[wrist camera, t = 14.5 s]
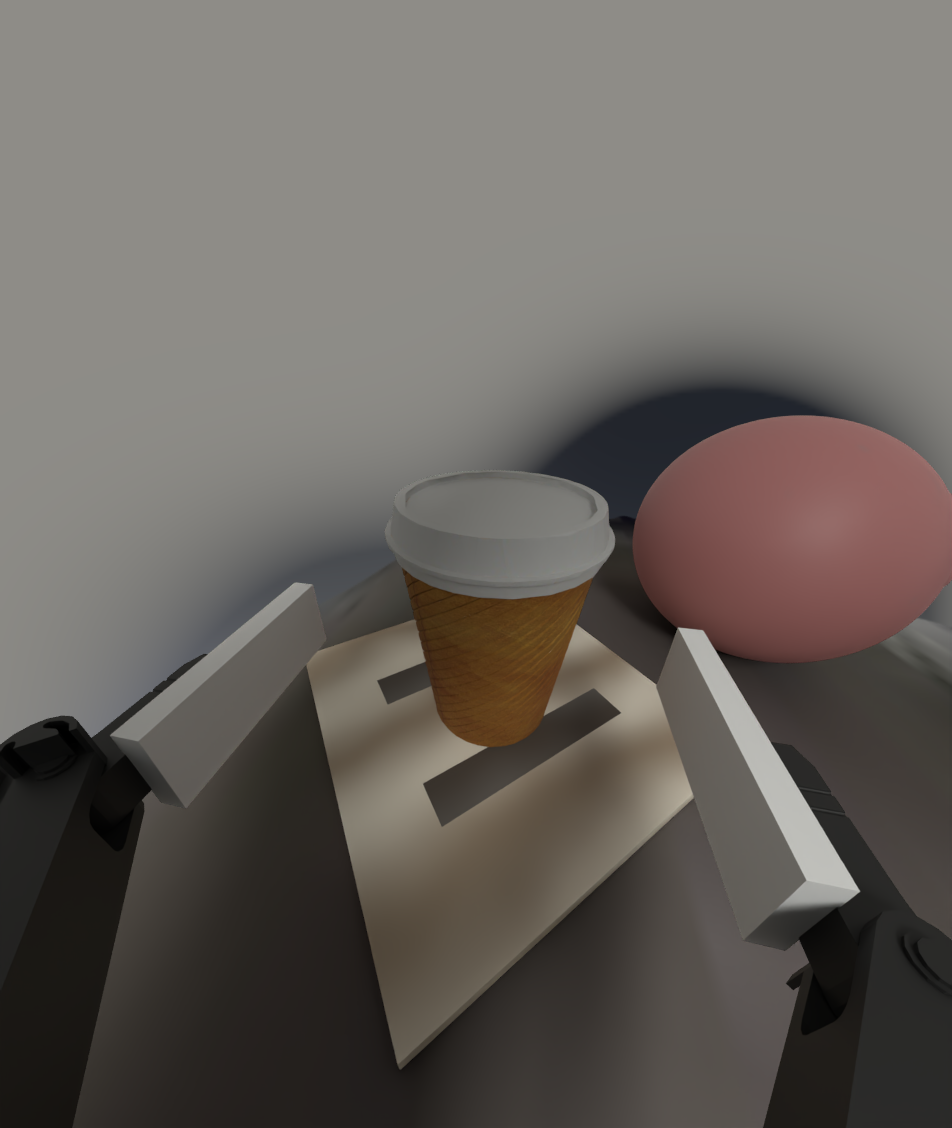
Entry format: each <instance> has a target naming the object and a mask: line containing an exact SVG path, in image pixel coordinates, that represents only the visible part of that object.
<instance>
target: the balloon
mask: <svg viewBox="0 0 952 1128" xmlns="http://www.w3.org/2000/svg"><path fill="white" fill-rule="evenodd" d="M633 557H634V563H635V567H636V571H637V574H638V577H639V580H640V582H641V584H642V587H643V588H644V590H645V592H646V594H647V596H648V597H649V599H650V600H651V602H652V603H653V604H654V606H655V607H656V608H657V609H658V611H659V612H660V613H661V614H662V615H663V616H664V617H665V618H666V619H667V620H668V621H669V622H670V623H672V624H673V625H674V626H675V627H676V628H678V627H679V628H688V629H696V630H703V631H704V632H705V634H706V636H707V637H708V639H709V641H710V642H711V644H712V646H713V647H714V649H715V650H718V651H721V652H723V653H726V654H730V655H733V656H737V657H741V658H745V659H750V660H756V661H762V662H772V663H805V662H815V661H822V660H828V659H833V658H838V657H842V656H845V655H849V654H852V653H855V652H858V651H861V650H864V649H866V648H869V647H871V646H873V645H876V644H878V643H880V642H882V641H884V640H886V639H888V638H889V637H891V636H893V635H895V634H896V633H898V632H899V631H901V630H902V629H904V628H905V627H906V626H908V625H909V624H910V623H912V622H913V621H914V620H915V619H916V618H917V617H919V616H920V615H921V614H922V613H923V612H924V611H925V610H926V609H927V608H928V607H929V606H930V604H931V603H932V602H933V601H934V599H935V598H936V597H937V596H938V594H939V593H940V592H941V590H942V588H943V587H944V586H946V585H948V584H949V583H950V581H952V494H951V493H949V491H948V489H947V487H946V486H945V484H944V482H943V481H942V479H941V478H940V476H939V475H938V474H937V473H936V472H935V470H934V469H933V468H932V467H931V466H930V464H929V463H928V462H927V461H926V460H925V459H924V458H923V457H921V456H920V455H919V454H918V453H917V452H915V451H914V450H913V449H911V448H910V447H909V446H907V445H906V444H904V443H903V442H901V441H899V440H898V439H896V438H894V437H892V436H890V435H888V434H886V433H884V432H882V431H879V430H877V429H874V428H872V427H869V426H866V425H863V424H859V423H856V422H852V421H847V420H843V419H837V418H831V417H822V416H784V417H775V418H769V419H762V420H758V421H753V422H749V423H745V424H742V425H738V426H736V427H732V428H730V429H727V430H725V431H722V432H720V433H718V434H715V435H713V436H711V437H709V438H707V439H705V440H704V441H702V442H700V443H698V444H697V445H695V446H693V447H692V448H690V449H689V450H688V451H686V452H685V453H684V454H682V455H681V456H680V457H678V458H677V459H676V460H675V461H674V462H672V463H671V464H670V465H669V466H668V467H667V468H666V469H665V470H664V472H663V473H662V474H661V475H660V476H659V478H657V480H656V481H655V482H654V484H653V485H652V486H651V488H650V490H649V491H648V493H647V495H646V496H645V498H644V500H643V502H642V505H641V507H640V509H639V512H638V515H637V518H636V522H635V527H634V533H633Z"/></svg>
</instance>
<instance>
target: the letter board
mask: <svg viewBox="0 0 952 1128" xmlns="http://www.w3.org/2000/svg"><path fill="white" fill-rule="evenodd" d="M418 633H419V631H418V630H417V626H416V621H415V619H414V620H411V621H408V622H405V623H402V624H399V625H396V626H393V627H390V628H387V629H384V630H381V631H377V632H374V633H371V634H368V635H365V636H362V637H359V638H356V639H353V640H350V641H347V642H344V643H341V644H338V645H335V646H332V647H329V648H326V649H322V650H319V651H317V652H316V653H315V655H314V656H313V657H312V658H311V659H310V661H309V662H308V663H307V664H306V666H307V670H308V674H309V679H310V683H311V688H312V692H313V696H314V701H315V705H316V709H317V714H318V718H319V723H320V727H321V731H322V736H323V740H324V745H325V749H326V753H327V758H328V762H329V767H330V771H331V775H332V780H333V784H334V788H335V793H336V797H337V802H338V806H339V810H340V815H341V819H342V824H343V828H344V832H345V837H346V841H347V845H348V850H349V854H350V859H351V863H352V867H353V872H354V876H355V881H356V885H357V889H358V894H359V898H360V903H361V907H362V911H363V916H364V920H365V924H366V929H367V933H368V938H369V942H370V946H371V951H372V955H373V960H374V964H375V968H376V973H377V977H378V982H379V986H380V990H381V995H382V999H383V1003H384V1008H385V1012H386V1017H387V1021H388V1025H389V1030H390V1034H391V1039H392V1043H393V1047H394V1052H395V1056H396V1061H397V1065H398V1067H399V1069H400V1070H401V1069H402V1068H403V1067H404V1066H405V1065H406V1064H407V1063H408V1062H410V1061H411V1060H412V1059H413V1058H414V1057H415V1056H416V1055H417V1054H418V1053H419V1052H420V1051H421V1050H422V1049H424V1048H425V1047H426V1046H427V1045H428V1044H429V1043H430V1042H431V1041H432V1040H433V1039H434V1038H435V1037H436V1036H438V1035H439V1034H440V1033H441V1032H442V1031H443V1030H444V1029H445V1028H446V1027H447V1026H448V1025H449V1024H451V1023H452V1022H453V1021H454V1020H455V1019H456V1018H457V1017H458V1016H459V1015H460V1014H461V1013H462V1012H463V1011H465V1010H466V1009H467V1008H468V1007H469V1006H470V1005H471V1004H472V1003H473V1002H474V1001H475V1000H476V999H477V998H479V997H480V996H481V995H482V994H483V993H484V992H485V991H486V990H487V989H488V988H489V987H490V986H491V985H493V984H494V983H495V982H496V981H497V980H498V979H499V978H500V977H501V976H502V975H503V974H504V973H505V972H507V971H508V970H509V969H510V968H511V967H512V966H513V965H514V964H515V963H516V962H517V961H518V960H520V959H521V958H522V957H523V956H524V955H525V954H526V953H527V952H528V951H529V950H530V949H531V948H532V947H534V946H535V945H536V944H537V943H538V942H539V941H540V940H541V939H542V938H543V937H544V936H545V935H546V934H548V933H549V932H550V931H551V930H552V929H553V928H554V927H555V926H556V925H557V924H558V923H559V922H560V921H562V920H563V919H564V918H565V917H566V916H567V915H568V914H569V913H570V912H571V911H572V910H573V909H575V908H576V907H577V906H578V905H579V904H580V903H581V902H582V901H583V900H584V899H585V898H586V897H587V896H589V895H590V894H591V893H592V892H593V891H594V890H595V889H596V888H597V887H598V886H599V885H600V884H601V883H603V882H604V881H605V880H606V879H607V878H608V877H609V876H610V875H611V874H612V873H613V872H614V871H615V870H617V869H618V868H619V867H620V866H621V865H622V864H623V863H624V862H625V861H626V860H627V859H628V858H629V857H631V856H632V855H633V854H634V853H635V852H636V851H637V850H638V849H639V848H640V847H641V846H642V845H644V844H645V843H646V842H647V841H648V840H649V839H650V838H651V837H652V836H653V835H654V834H655V833H656V832H658V831H659V830H660V829H661V828H662V827H663V826H664V825H665V824H666V823H667V822H668V821H669V820H670V819H672V818H673V817H674V816H675V815H676V814H677V813H678V812H679V811H680V810H681V809H682V808H683V807H684V806H686V805H687V804H688V803H689V802H690V801H691V800H692V799H693V798H694V796H693V793H692V790H691V787H690V784H689V782H688V779H687V776H686V773H685V770H684V767H683V764H682V761H681V758H680V755H679V752H678V749H677V746H676V744H675V741H674V738H673V735H672V732H671V729H670V726H669V723H668V720H667V717H666V714H665V711H664V708H663V706H662V703H661V700H660V697H659V694H658V691H657V688H656V686H657V685H656V684H655V683H653V682H652V681H651V680H649V679H648V678H647V677H645V676H644V675H643V674H641V673H640V672H639V671H637V670H636V669H635V668H633V667H632V666H631V665H630V664H628V663H627V662H626V661H624V660H623V659H622V658H620V657H619V656H618V655H616V654H615V653H614V652H612V651H611V650H610V649H608V648H607V647H606V646H604V645H603V644H602V643H601V642H599V641H598V640H597V639H595V638H594V637H593V636H591V635H590V634H589V633H587V632H586V631H585V630H583V629H582V628H581V627H579V626H578V625H577V624H576V626H575V629H574V632H573V635H572V638H571V641H570V643H569V646H568V649H567V652H566V654H565V657H564V660H563V663H562V666H561V669H560V671H559V674H558V677H557V679H556V682H555V685H554V688H553V691H552V693H551V696H550V699H549V702H548V704H547V707H546V710H545V713H544V717H543V719H542V721H541V723H540V725H539V726H538V727H537V728H536V730H535V731H534V732H532V733H531V734H530V735H529V736H528V737H526V738H525V739H523V740H521V741H519V742H517V743H515V744H511V745H507V746H499V747H485V746H478V745H475V744H472V743H469V742H466V741H464V740H463V739H461V738H459V737H457V736H456V735H454V734H453V733H452V732H451V731H450V730H449V729H448V728H447V727H446V726H445V724H444V723H443V722H442V721H441V718H440V716H439V714H438V712H437V707H436V702H435V699H434V695H433V690H432V685H431V682H430V677H429V674H428V670H427V669H428V668H427V666H426V663H425V658H424V654H423V651H424V650H422V646H421V641H420V638H419V634H418Z"/></svg>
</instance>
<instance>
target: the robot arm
mask: <svg viewBox="0 0 952 1128" xmlns="http://www.w3.org/2000/svg"><path fill="white" fill-rule="evenodd" d="M326 640H327V639H326V635H325V631H324V627H323V623H322V619H321V615H320V611H319V607H318V603H317V599H316V595H315V591H314V587H313V585H310V584H303V583H294V584H293V585H291V586H290V587H289V588H288V589H287V590H285V591H284V592H283V593H282V594H281V595H279V596H278V597H277V598H276V599H274V600H273V601H272V602H271V603H270V604H268V605H267V606H266V607H265V608H264V609H262V610H261V611H260V612H259V613H258V614H256V615H255V616H254V617H253V618H251V619H250V620H249V621H248V622H247V623H245V624H244V625H243V626H242V627H240V628H239V629H238V630H237V631H236V632H234V633H233V634H232V635H231V636H230V637H229V638H227V639H226V640H225V641H223V642H222V643H221V644H220V645H219V646H217V647H216V648H215V649H214V650H213V651H211V652H210V653H209V654H203V655H201V656H199V657H197V658H195V659H193V660H192V661H190V662H188V663H186V664H184V665H183V666H182V667H180V668H179V669H178V670H177V671H175V672H174V673H173V674H171V675H170V676H169V677H168V678H167V680H166V681H163V682H161V683H160V684H159V685H158V686H156V687H155V688H154V689H153V692H149V693H148V694H147V695H145V696H144V697H143V698H141V699H140V700H139V701H138V702H136V703H135V704H134V705H133V706H131V708H129V709H128V710H126V711H125V712H124V713H123V714H121V715H120V716H119V717H118V718H116V719H115V720H114V721H113V722H111V723H110V724H109V725H108V726H107V727H105V728H104V729H103V730H101V731H100V732H99V733H98V734H96V735H95V736H94V737H92V738H91V737H90V736H89V735H88V733H87V732H86V731H85V730H84V728H83V727H82V726H81V725H80V724H79V722H78V721H77V720H76V719H74V717H72V716H59V717H53V718H49V719H46V720H43V721H40V722H38V723H35V724H33V725H30V726H29V727H27V728H25V729H23V730H21V731H19V732H18V733H16V734H14V735H13V736H11V737H10V738H9V739H7V740H6V741H5V742H3V743H2V744H0V1128H72V1126H73V1121H74V1117H75V1112H76V1108H77V1104H78V1099H79V1095H80V1091H81V1086H82V1082H83V1077H84V1073H85V1069H86V1064H87V1060H88V1055H89V1051H90V1047H91V1042H92V1038H93V1034H94V1029H95V1025H96V1020H97V1016H98V1012H99V1007H100V1003H101V999H102V994H103V990H104V985H105V981H106V977H107V972H108V968H109V963H110V959H111V955H112V950H113V946H114V942H115V937H116V933H117V928H118V924H119V920H120V915H121V911H122V907H123V902H124V898H125V893H126V889H127V885H128V880H129V876H130V872H131V867H132V863H133V858H134V854H135V850H136V845H137V841H138V836H139V832H140V828H141V823H142V819H143V815H144V803H143V801H142V799H143V798H144V797H145V796H146V795H147V794H148V793H149V792H150V791H151V790H152V791H153V793H154V794H155V795H156V797H157V798H158V799H159V801H160V802H161V803H164V804H169V805H173V806H177V807H181V808H185V809H186V808H187V807H188V806H189V805H190V804H191V802H192V801H193V800H194V799H195V798H196V796H197V795H198V794H199V793H200V792H201V790H202V789H203V788H204V787H205V786H206V784H207V783H208V782H209V781H210V780H211V778H212V777H213V776H214V775H215V774H216V772H217V771H218V770H219V769H220V768H221V766H222V765H223V764H224V763H225V762H226V760H227V759H228V758H229V757H230V756H231V754H232V753H233V752H234V751H235V750H236V748H237V747H238V746H239V745H240V744H241V742H242V741H243V740H244V739H245V738H246V736H247V735H248V734H249V733H250V731H251V730H252V729H253V728H254V727H255V725H256V724H257V723H258V722H259V721H260V719H261V718H262V717H263V716H264V715H265V713H266V712H267V711H268V710H269V709H270V707H271V706H272V705H273V704H274V703H275V701H276V700H277V699H278V698H279V697H280V695H281V694H282V693H283V692H284V691H285V689H286V688H287V687H288V686H289V685H290V683H291V682H292V681H293V680H294V679H295V677H296V676H297V675H298V674H299V673H300V671H301V670H302V669H303V668H304V667H305V665H306V664H307V663H308V662H309V661H310V659H311V658H312V657H313V656H314V655H315V653H316V652H317V651H318V650H319V649H320V647H321V646H322V645H323V644H324V643H325V641H326ZM656 688H657V691H658V694H659V697H660V700H661V703H662V706H663V708H664V711H665V714H666V717H667V720H668V723H669V726H670V729H671V732H672V735H673V738H674V741H675V744H676V746H677V749H678V752H679V755H680V758H681V761H682V764H683V767H684V770H685V773H686V776H687V779H688V782H689V784H690V787H691V790H692V793H693V796H694V799H695V802H696V805H697V808H698V811H699V814H700V817H701V820H702V822H703V825H704V828H705V831H706V834H707V837H708V840H709V843H710V846H711V849H712V852H713V855H714V857H715V860H716V863H717V866H718V869H719V872H720V875H721V878H722V881H723V884H724V887H725V890H726V893H727V895H728V898H729V901H730V904H731V907H732V910H733V913H734V916H735V919H736V922H737V925H738V928H739V931H740V933H741V936H742V939H743V941H746V942H751V943H755V944H759V945H763V946H768V947H772V948H776V949H780V950H784V951H785V950H787V949H788V948H789V947H791V946H792V945H793V944H794V943H796V942H797V941H798V940H800V942H801V945H802V947H803V949H804V951H805V954H806V956H807V958H808V960H809V963H808V964H807V965H806V966H804V967H803V968H801V969H800V970H798V971H797V972H796V973H794V974H793V975H792V976H791V977H790V979H789V980H788V981H787V983H786V984H787V985H788V986H789V987H790V988H791V989H792V990H794V989H796V988H797V987H799V986H800V988H799V992H798V996H797V1000H796V1003H795V1007H794V1011H793V1015H792V1019H791V1023H790V1027H789V1030H788V1034H787V1038H786V1042H785V1046H784V1050H783V1053H782V1057H781V1061H780V1065H779V1069H778V1073H777V1077H776V1080H775V1084H774V1088H773V1092H772V1096H771V1100H770V1103H769V1107H768V1111H767V1115H766V1119H765V1123H764V1127H763V1128H952V940H951V939H950V938H948V937H947V936H946V935H945V934H943V933H942V932H941V931H940V930H939V929H937V928H935V927H934V926H932V925H930V924H929V923H927V922H925V921H924V920H922V919H920V918H919V917H917V916H916V915H915V913H914V912H913V911H912V909H911V908H910V907H909V906H908V904H907V903H906V902H905V900H904V899H903V897H902V896H901V894H900V893H899V891H898V890H897V888H896V887H895V886H894V884H893V883H892V881H891V880H890V878H889V877H888V875H887V874H886V872H885V871H884V869H883V868H882V866H881V865H880V863H879V862H878V860H877V859H876V857H875V856H874V854H873V853H872V851H871V850H870V848H869V847H868V846H867V844H866V843H865V841H864V840H863V838H862V837H861V835H860V834H859V832H858V831H857V829H856V828H855V826H854V825H853V823H852V822H851V820H850V819H849V818H848V817H846V816H845V811H844V810H843V808H842V807H841V805H840V804H839V803H838V801H837V800H836V798H835V797H834V796H832V795H831V791H830V789H829V788H828V786H827V785H826V783H825V782H824V780H823V779H822V777H821V776H820V774H819V773H818V771H817V770H816V768H815V767H814V766H813V765H812V764H811V763H810V762H809V761H808V760H806V759H805V758H804V757H803V756H802V755H801V754H800V753H799V752H798V751H797V750H796V749H795V748H794V747H793V746H792V745H786V744H779V743H773V742H770V741H769V739H768V737H767V736H766V734H765V732H764V731H763V729H762V727H761V726H760V724H759V722H758V721H757V719H756V717H755V716H754V714H753V712H752V711H751V709H750V707H749V706H748V704H747V702H746V701H745V699H744V697H743V696H742V694H741V692H740V691H739V689H738V687H737V686H736V684H735V682H734V681H733V679H732V677H731V676H730V674H729V672H728V671H727V669H726V667H725V666H724V664H723V662H722V661H721V659H720V657H719V656H718V654H717V652H716V651H715V649H714V647H713V646H712V644H711V642H710V641H709V639H708V637H707V636H706V634H705V632H704V631H703V630H696V629H688V628H679V627H678V629H677V631H676V634H675V637H674V640H673V642H672V645H671V648H670V650H669V653H668V656H667V659H666V661H665V664H664V667H663V669H662V672H661V675H660V678H659V680H658V683H657V686H656Z"/></svg>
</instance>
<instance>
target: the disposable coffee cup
mask: <svg viewBox="0 0 952 1128" xmlns="http://www.w3.org/2000/svg"><path fill="white" fill-rule="evenodd" d="M608 513H609V511H608V505H607V502H606V501H605V499H604V498H603V497H602V496H601V495H600V494H598V493H597V492H596V491H594V490H592V489H590V488H588V487H586V486H584V485H582V484H579V483H575V482H572V481H569V480H566V479H563V478H558V477H553V476H548V475H544V474H537V473H528V472H520V471H504V470H480V471H464V472H454V473H447V474H440V475H436V476H432V477H427V478H424V479H421V480H418V481H415V482H413V483H411V484H409V485H407V486H406V487H404V488H402V489H401V490H399V492H398V493H397V495H396V497H395V498H394V505H393V514H392V518H391V519H390V520H389V521H388V523H387V526H386V528H385V538H386V541H387V544H388V546H389V548H390V550H391V551H392V552H393V553H394V554H395V558H396V560H397V561H398V563H399V564H400V566H401V567H402V570H403V574H404V576H405V581H406V585H407V588H408V593H409V597H410V599H411V601H410V602H411V605H412V609H413V610H414V612H413V614H414V619H415V621H416V626H417V630H418V631H419V633H418V634H419V638H420V641H421V646H422V650H424V651H423V654H424V658H425V663H426V666H427V668H428V669H427V670H428V674H429V677H430V682H431V685H432V690H433V695H434V699H435V702H436V707H437V712H438V714H439V716H440V718H441V721H442V722H443V723H444V724H445V726H446V727H447V728H448V729H449V730H450V731H451V732H452V733H453V734H454V735H456V736H457V737H459V738H461V739H463V740H464V741H466V742H469V743H472V744H475V745H478V746H485V747H499V746H507V745H511V744H515V743H517V742H519V741H521V740H523V739H525V738H526V737H528V736H529V735H530V734H531V733H532V732H534V731H535V730H536V728H537V727H538V726H539V725H540V723H541V721H542V719H543V717H544V713H545V710H546V707H547V704H548V702H549V699H550V696H551V693H552V691H553V688H554V685H555V682H556V679H557V677H558V674H559V671H560V669H561V666H562V663H563V660H564V657H565V654H566V652H567V649H568V646H569V643H570V641H571V638H572V635H573V632H574V629H575V626H576V624H577V621H578V618H579V616H580V612H581V610H582V607H583V605H584V601H585V598H586V596H587V593H588V590H589V588H590V585H591V582H592V579H593V577H594V576H595V574H596V573H597V572H598V571H599V569H600V568H601V567H602V564H603V563H605V562H606V560H607V559H608V557H609V556H610V554H611V553H612V551H613V550H614V546H615V536H614V533H613V531H612V529H611V527H610V526H609V514H608Z"/></svg>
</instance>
